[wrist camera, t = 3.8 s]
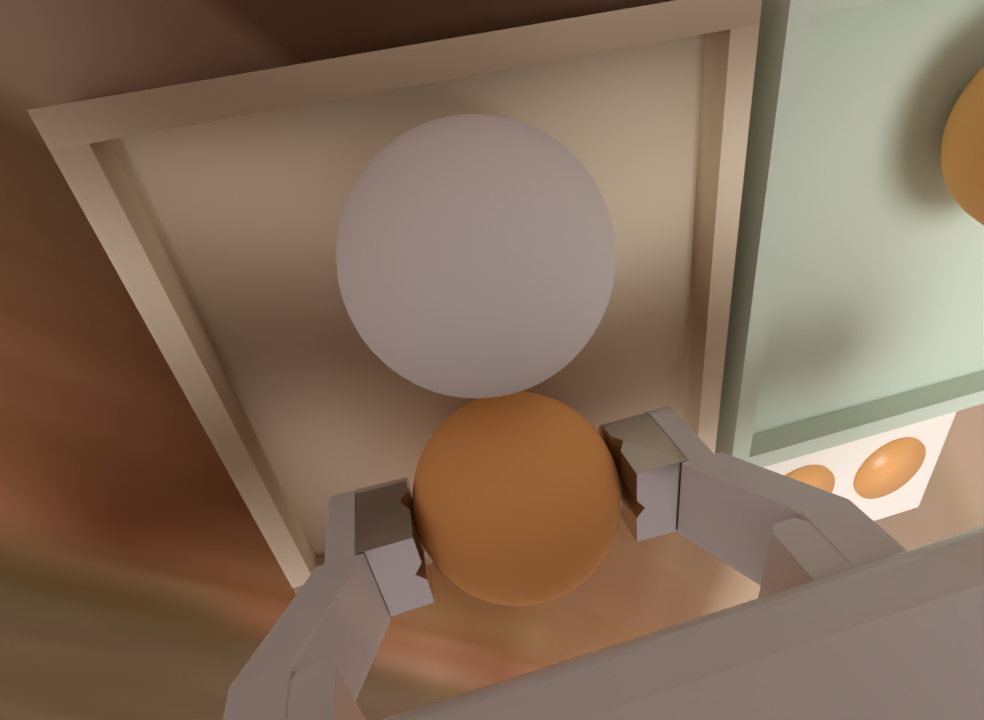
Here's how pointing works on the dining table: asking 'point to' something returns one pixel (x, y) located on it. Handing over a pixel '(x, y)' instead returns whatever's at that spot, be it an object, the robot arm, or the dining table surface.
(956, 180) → the orange ball
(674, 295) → the tray birch
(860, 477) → the card
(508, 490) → the orange ball
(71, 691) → the dining table surface
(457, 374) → the grey ball
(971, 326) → the tray sage
